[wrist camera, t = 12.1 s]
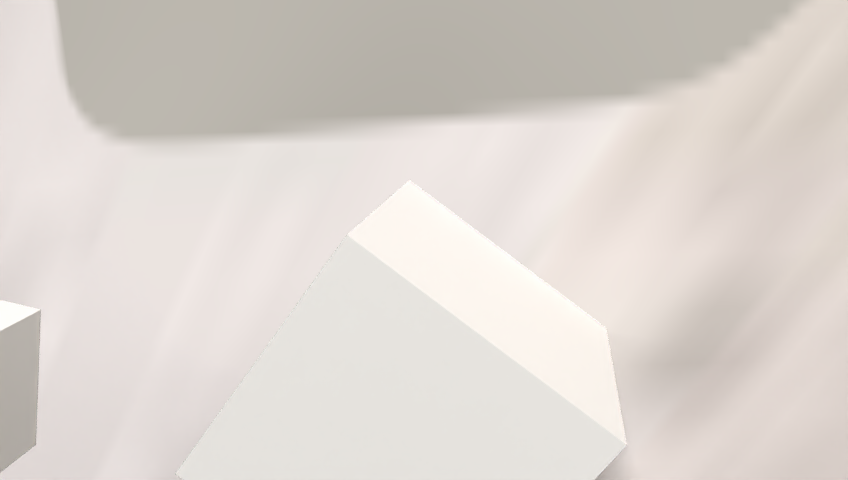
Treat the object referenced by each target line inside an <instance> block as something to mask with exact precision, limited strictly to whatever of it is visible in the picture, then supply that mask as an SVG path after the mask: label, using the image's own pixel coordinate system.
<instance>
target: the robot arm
mask: <svg viewBox="0 0 848 480" xmlns="http://www.w3.org/2000/svg"><path fill="white" fill-rule="evenodd" d="M40 318H41V310H40V309H36V308H32V307H28V306H24V305H19V304H15V303H11V302H7V301H3V300H1V301H0V472H1V471H3V470H4V469H5V468H7V467H8V466H9V465H10V464H12V463H13V462H14V461H16V460H17V459H18V458H19V457H21V456H22V455H23V454H25V453H26V452H27V451H28V450H30V449H31V448H32V447H34V446H35V445H36V429H37V401H38V373H39V346H40Z"/></svg>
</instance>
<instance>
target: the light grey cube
mask: <svg viewBox="0 0 848 480" xmlns="http://www.w3.org/2000/svg"><path fill="white" fill-rule="evenodd" d="M626 446H627V442H626V436H625V430H624V425H623V419H622V413H621V408H620V402H619V397H618V391H617V385H616V380H615V374H614V369H613V363H612V357H611V352H610V346H609V340H608V335H607V329H606V327H604V326H603V325H602V324H600V323H599V322H598V321H596V320H595V319H594V318H592V317H591V316H590V315H589V314H587V313H586V312H585V311H583V310H582V309H581V308H579V307H578V306H577V305H575V304H574V303H573V302H571V301H570V300H569V299H567V298H566V297H565V296H563V295H562V294H561V293H559V292H558V291H557V290H555V289H554V288H553V287H551V286H550V285H549V284H547V283H546V282H545V281H543V280H542V279H541V278H539V277H538V276H537V275H535V274H534V273H533V272H531V271H530V270H529V269H527V268H526V267H525V266H523V265H522V264H521V263H519V262H518V261H517V260H515V259H514V258H513V257H511V256H510V255H509V254H507V253H506V252H505V251H503V250H502V249H501V248H499V247H498V246H497V245H495V244H494V243H493V242H491V241H490V240H489V239H487V238H486V237H485V236H483V235H482V234H481V233H479V232H478V231H477V230H475V229H474V228H473V227H472V226H470V225H469V224H468V223H466V222H465V221H464V220H462V219H461V218H460V217H458V216H457V215H456V214H454V213H453V212H452V211H450V210H449V209H448V208H446V207H445V206H444V205H442V204H441V203H440V202H438V201H437V200H436V199H434V198H433V197H432V196H430V195H429V194H428V193H426V192H425V191H424V190H422V189H421V188H420V187H418V186H417V185H416V184H414V183H413V182H412V181H410V180H409V181H407V182H406V183H405V184H404V185H403V186H402V187H401V188H399V189H398V190H397V191H396V192H395V193H394V194H393V195H391V196H390V197H389V198H388V199H387V200H386V201H385V202H383V203H382V204H381V205H380V206H379V207H378V208H377V209H375V210H374V211H373V212H372V213H371V214H370V215H369V216H367V217H366V218H365V219H364V220H363V221H362V222H361V223H359V224H358V225H357V226H356V227H355V228H354V229H353V230H351V231H350V232H349V233H348V234H347V235H346V236H345V238H344V239H343V240H342V242H341V243H340V245H339V246H338V247H337V249H336V250H335V252H334V253H333V254H332V256H331V257H330V259H329V260H328V261H327V263H326V264H325V266H324V267H323V268H322V270H321V271H320V273H319V274H318V275H317V277H316V278H315V279H314V281H313V282H312V284H311V285H310V286H309V288H308V289H307V291H306V292H305V293H304V295H303V296H302V298H301V299H300V300H299V302H298V303H297V305H296V306H295V307H294V309H293V310H292V312H291V313H290V314H289V316H288V317H287V319H286V320H285V321H284V323H283V324H282V325H281V327H280V328H279V330H278V331H277V332H276V334H275V335H274V337H273V338H272V339H271V341H270V342H269V344H268V345H267V346H266V348H265V349H264V351H263V352H262V353H261V355H260V356H259V358H258V359H257V360H256V362H255V363H254V365H253V366H252V367H251V369H250V370H249V371H248V373H247V374H246V376H245V377H244V378H243V380H242V381H241V383H240V384H239V385H238V387H237V388H236V390H235V391H234V392H233V394H232V395H231V397H230V398H229V399H228V401H227V402H226V404H225V405H224V406H223V408H222V409H221V411H220V412H219V413H218V415H217V416H216V418H215V419H214V420H213V422H212V423H211V424H210V426H209V427H208V429H207V430H206V431H205V433H204V434H203V436H202V437H201V438H200V440H199V441H198V443H197V444H196V445H195V447H194V448H193V450H192V451H191V452H190V454H189V455H188V457H187V458H186V459H185V461H184V462H183V464H182V465H181V466H180V468H179V469H178V470H177V472H176V473H175V475H177V476H178V477H179V478H181V479H182V480H595V479H596V478H597V477H598V476H599V474H600V473H601V472H602V471H603V470H604V469H605V468H606V467H607V466H608V465H609V464H610V463H611V462H612V461H613V460H614V459H615V458H616V456H617V455H618V454H619V453H620V452H621V451H622V450H623V449H624V448H625V447H626Z"/></svg>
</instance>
